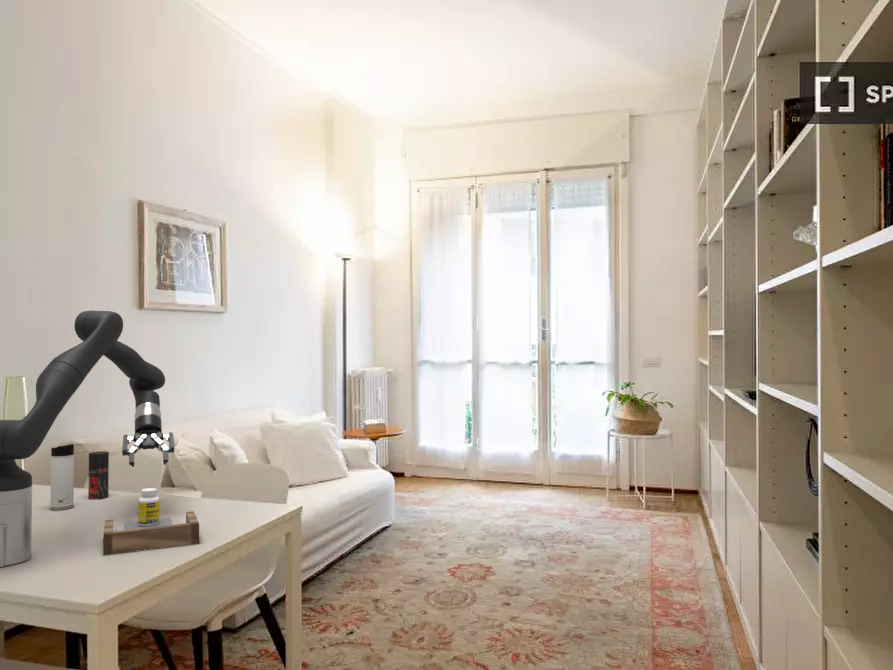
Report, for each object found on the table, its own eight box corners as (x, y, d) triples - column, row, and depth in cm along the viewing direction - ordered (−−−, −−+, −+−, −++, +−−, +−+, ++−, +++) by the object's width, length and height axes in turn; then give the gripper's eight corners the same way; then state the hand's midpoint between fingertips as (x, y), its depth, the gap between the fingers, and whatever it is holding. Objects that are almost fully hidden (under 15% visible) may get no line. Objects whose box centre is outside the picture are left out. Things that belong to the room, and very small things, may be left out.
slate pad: (125, 523, 191) (125, 521, 191) (170, 518, 196) (170, 516, 196) (125, 534, 180) (125, 532, 180) (173, 528, 185) (173, 527, 185)
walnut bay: (104, 539, 175) (104, 520, 175) (193, 529, 185) (193, 511, 185) (103, 555, 162) (103, 534, 162) (199, 543, 172) (199, 523, 172)
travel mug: (64, 511, 205) (64, 446, 205) (45, 510, 206) (46, 445, 206) (79, 506, 211) (79, 443, 211) (61, 505, 212) (61, 442, 212)
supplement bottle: (145, 527, 184) (146, 492, 184) (134, 525, 187) (134, 490, 187) (163, 523, 189) (163, 488, 189) (151, 520, 192) (151, 486, 192)
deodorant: (112, 496, 224) (112, 452, 224) (94, 500, 219) (95, 454, 219) (102, 494, 227) (102, 450, 227) (84, 498, 222) (85, 453, 222)
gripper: (122, 414, 200) (122, 458, 190) (173, 412, 206) (175, 454, 196) (122, 429, 205) (122, 473, 194) (172, 427, 211) (174, 469, 201)
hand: (149, 464), depth 195 cm, fingers open, 8 cm apart
